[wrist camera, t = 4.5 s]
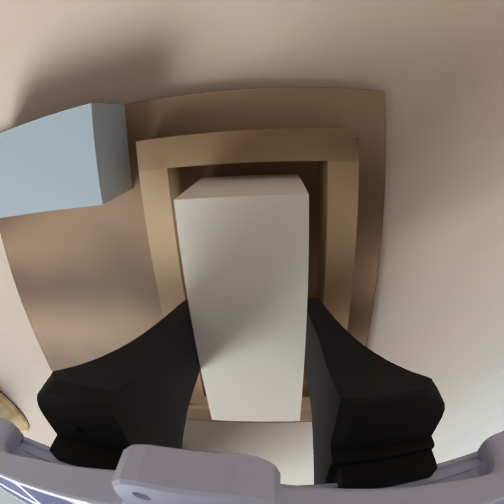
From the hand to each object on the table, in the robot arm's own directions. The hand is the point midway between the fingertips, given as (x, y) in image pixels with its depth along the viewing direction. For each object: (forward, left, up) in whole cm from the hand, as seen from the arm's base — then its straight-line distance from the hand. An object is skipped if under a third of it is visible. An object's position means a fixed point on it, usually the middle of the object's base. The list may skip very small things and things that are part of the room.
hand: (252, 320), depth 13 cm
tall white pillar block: (0, 0, -2) cm, 3 cm away
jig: (-1, +5, -4) cm, 6 cm away
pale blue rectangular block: (+7, +10, -3) cm, 13 cm away
